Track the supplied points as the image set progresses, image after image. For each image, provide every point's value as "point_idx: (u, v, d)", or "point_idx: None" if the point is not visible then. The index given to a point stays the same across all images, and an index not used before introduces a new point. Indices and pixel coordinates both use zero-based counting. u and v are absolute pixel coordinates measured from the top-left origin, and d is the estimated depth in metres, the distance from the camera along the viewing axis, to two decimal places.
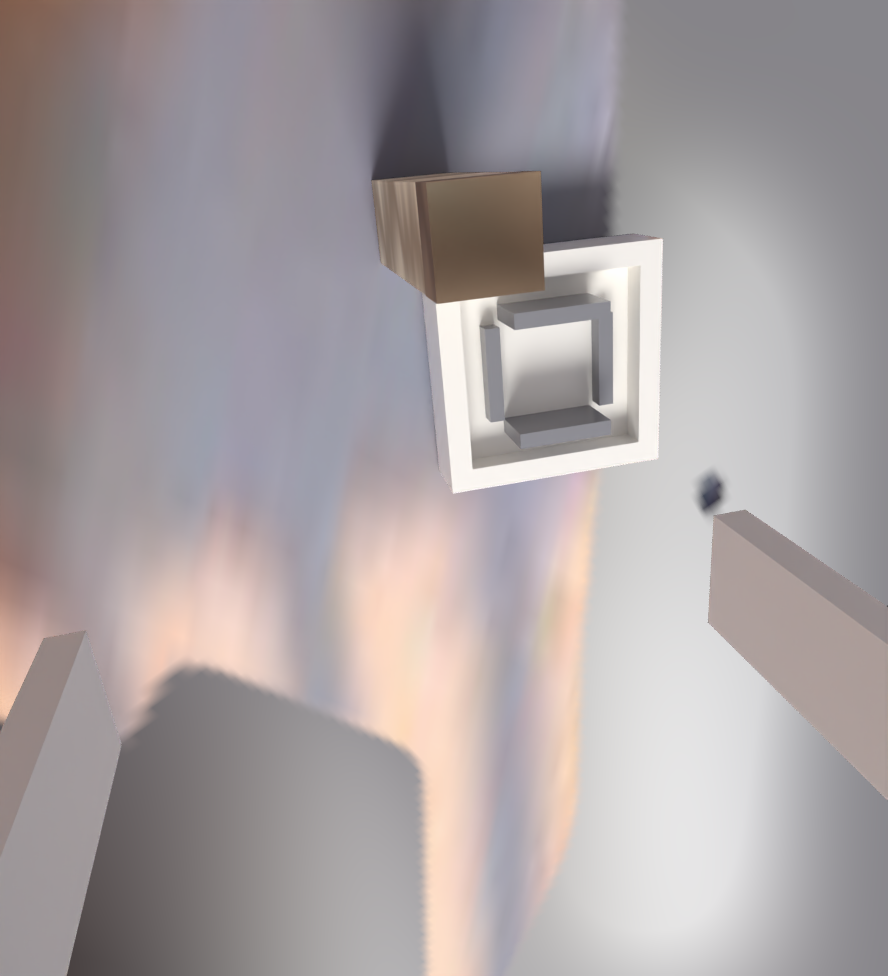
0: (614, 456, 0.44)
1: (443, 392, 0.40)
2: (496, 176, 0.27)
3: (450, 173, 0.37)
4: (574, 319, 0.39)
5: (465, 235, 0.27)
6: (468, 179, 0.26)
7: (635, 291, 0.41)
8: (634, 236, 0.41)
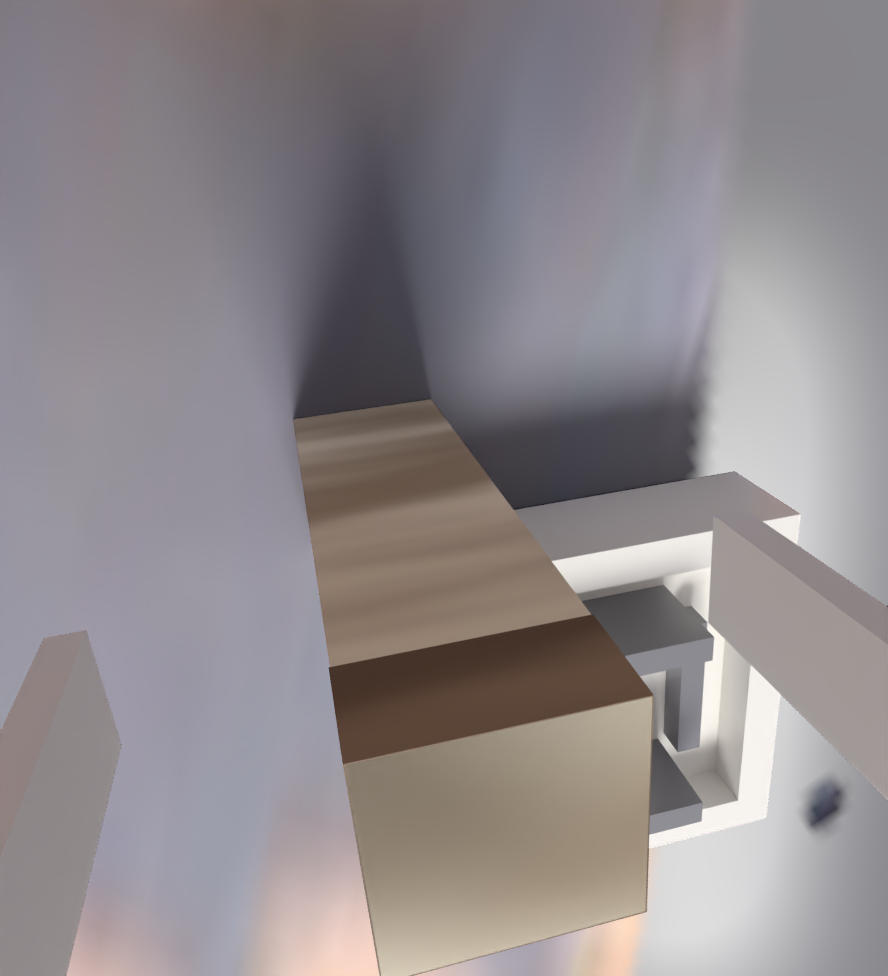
0: (698, 823, 0.27)
1: None
2: (536, 720, 0.10)
3: (431, 426, 0.20)
4: (650, 670, 0.22)
5: (453, 850, 0.10)
6: (461, 740, 0.10)
7: None
8: (742, 489, 0.25)
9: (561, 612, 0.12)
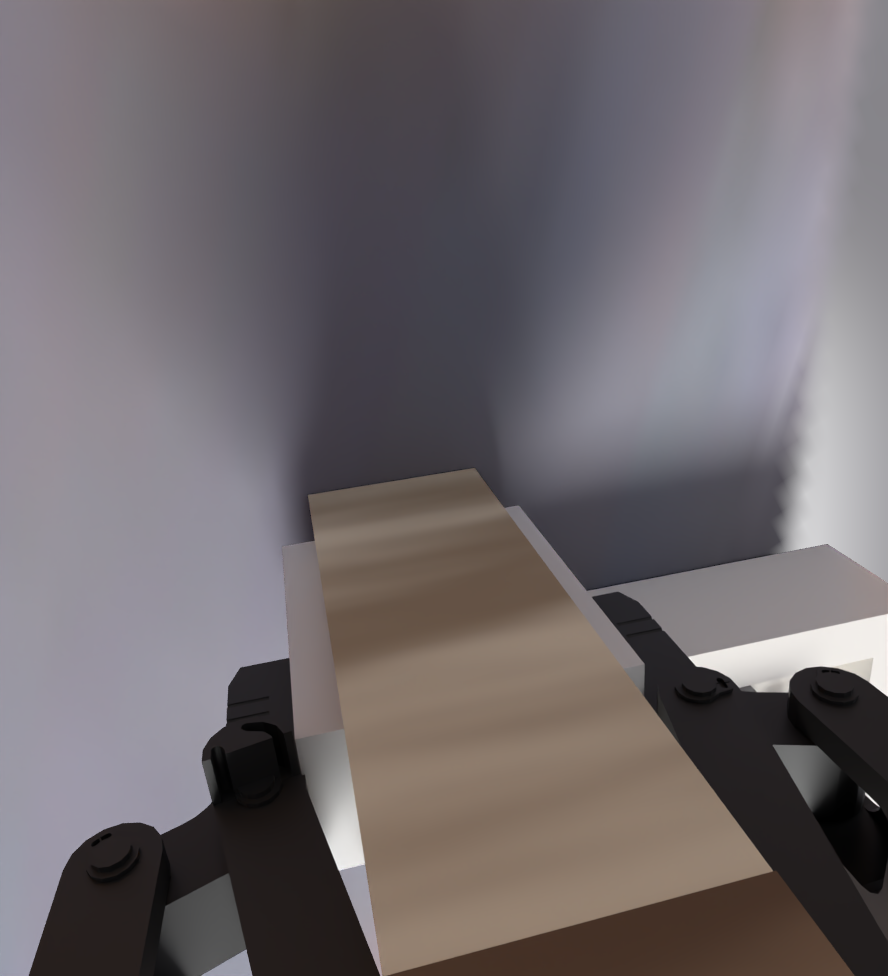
0: None
1: None
2: None
3: (480, 508, 0.17)
4: None
5: None
6: None
7: None
8: (843, 569, 0.21)
9: (725, 863, 0.08)
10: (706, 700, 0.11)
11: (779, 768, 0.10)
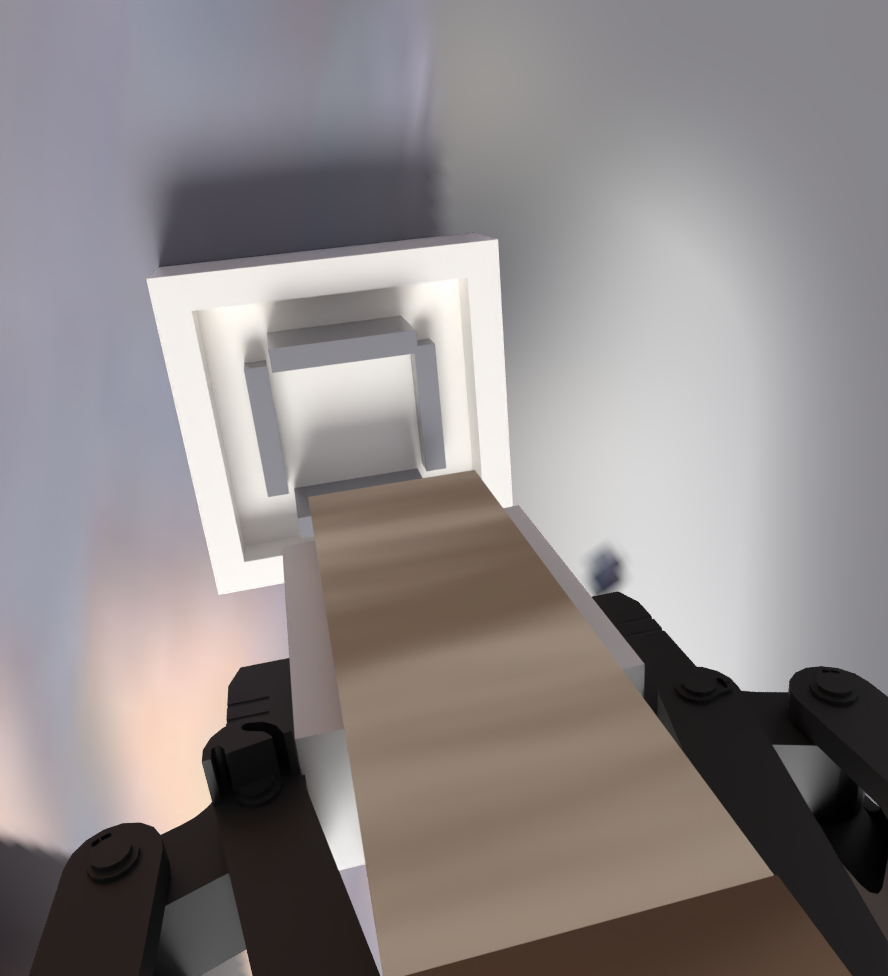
0: None
1: None
2: None
3: (480, 511, 0.17)
4: (362, 356, 0.27)
5: None
6: None
7: (466, 314, 0.29)
8: (468, 236, 0.29)
9: (726, 867, 0.08)
10: (706, 700, 0.11)
11: (779, 768, 0.10)
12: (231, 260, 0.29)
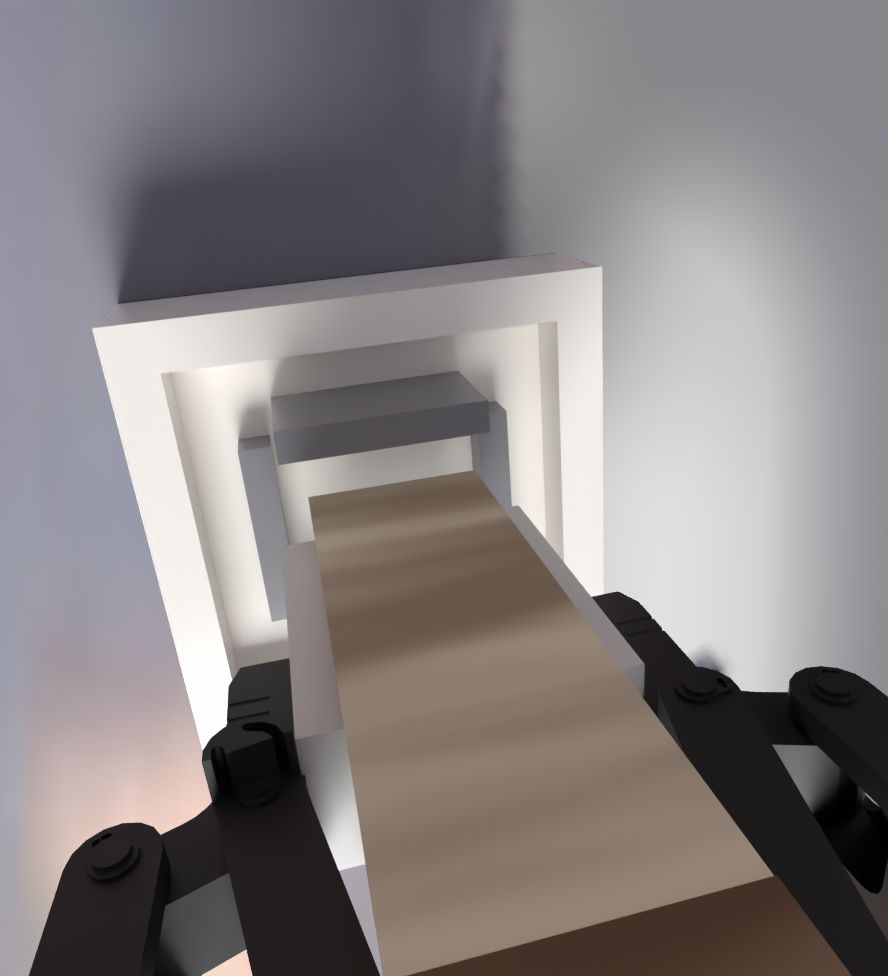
0: None
1: (158, 576, 0.20)
2: None
3: (480, 511, 0.17)
4: (411, 439, 0.18)
5: None
6: None
7: (551, 369, 0.21)
8: (551, 260, 0.21)
9: (726, 868, 0.08)
10: (706, 700, 0.11)
11: (779, 768, 0.10)
12: (220, 294, 0.20)
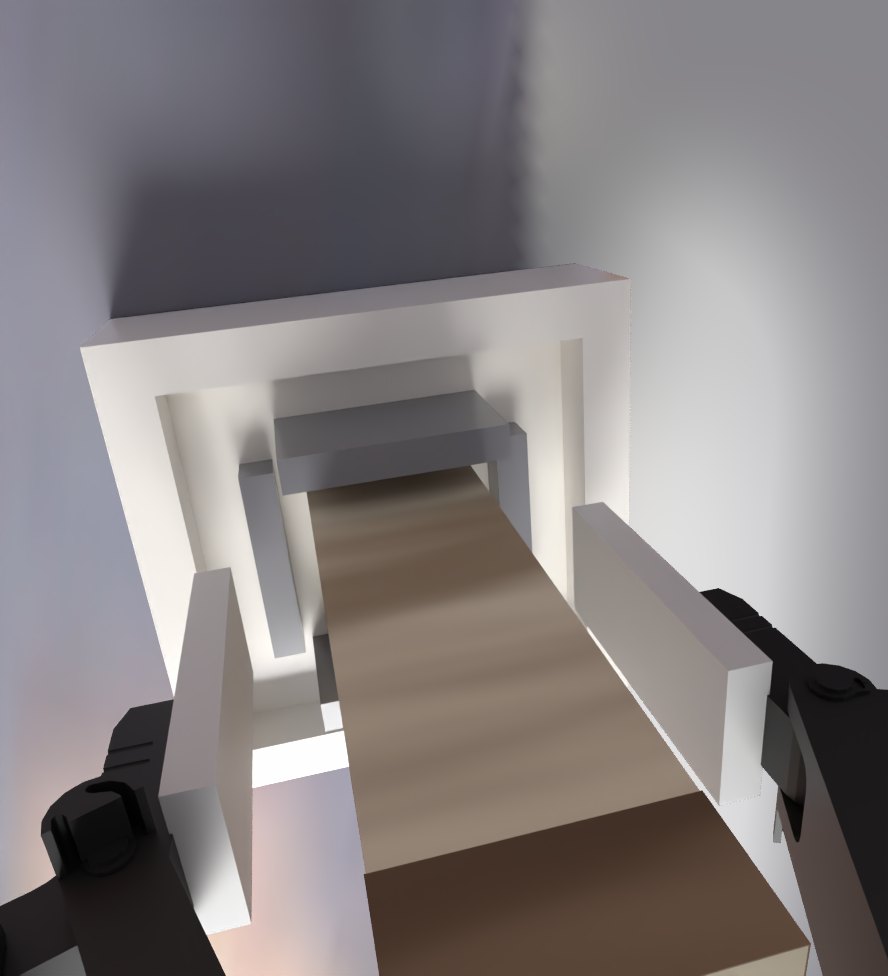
0: None
1: (153, 612, 0.18)
2: None
3: (464, 488, 0.18)
4: (426, 466, 0.17)
5: None
6: None
7: (574, 389, 0.19)
8: (574, 271, 0.20)
9: (659, 785, 0.09)
10: (840, 698, 0.11)
11: None
12: (219, 308, 0.19)
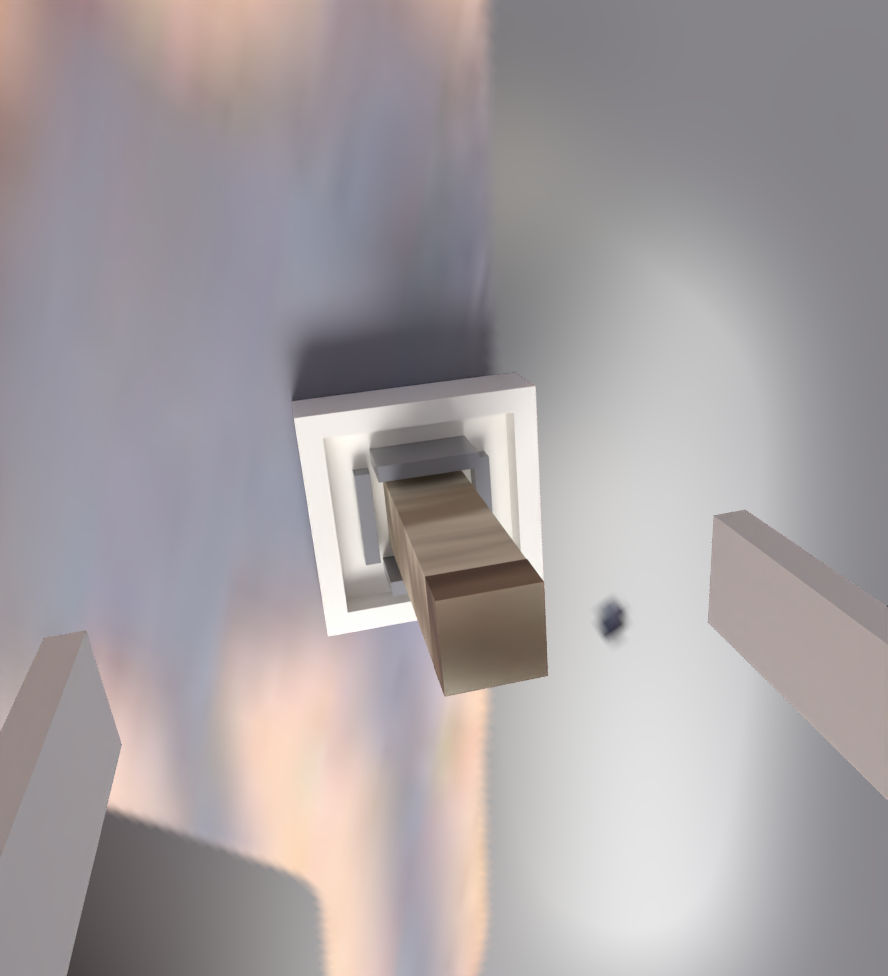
0: None
1: (313, 538, 0.39)
2: (502, 589, 0.28)
3: (458, 479, 0.39)
4: (441, 470, 0.38)
5: (472, 639, 0.28)
6: (475, 595, 0.28)
7: (511, 435, 0.40)
8: (512, 378, 0.41)
9: (514, 558, 0.30)
10: None
11: None
12: (344, 396, 0.40)
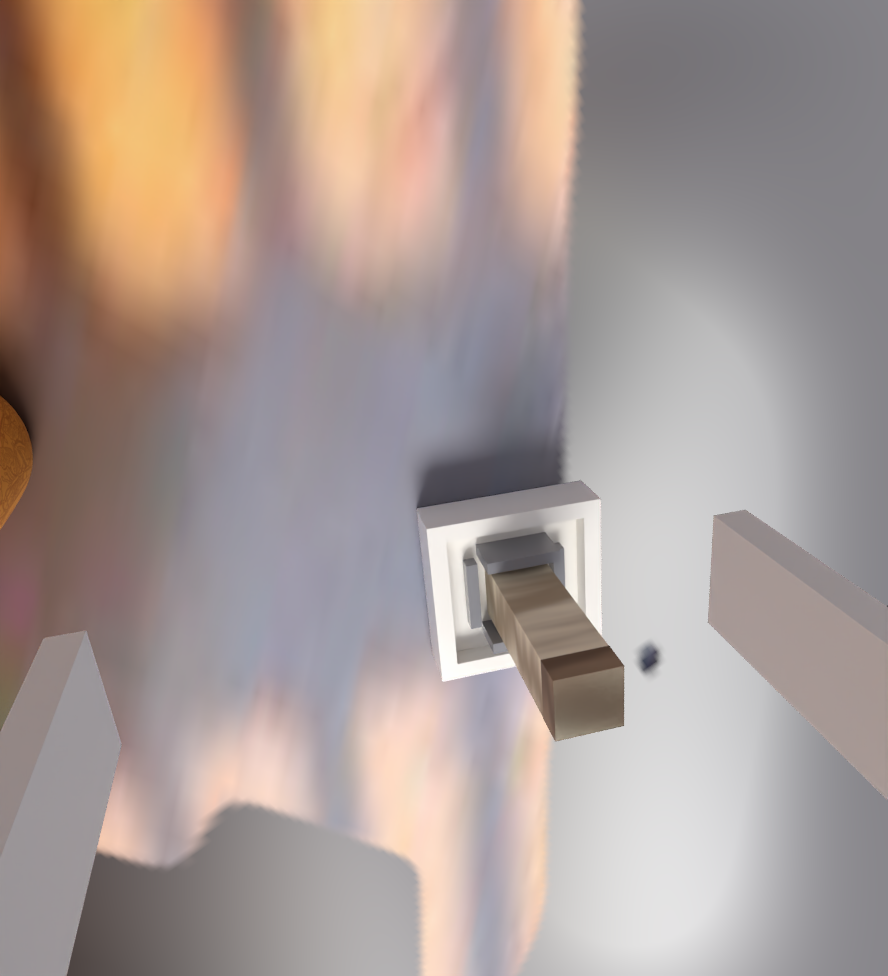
0: None
1: (435, 612, 0.53)
2: (596, 671, 0.42)
3: (543, 568, 0.52)
4: (533, 564, 0.51)
5: (575, 704, 0.42)
6: (579, 676, 0.42)
7: (581, 532, 0.54)
8: (581, 488, 0.54)
9: (600, 645, 0.44)
10: None
11: None
12: (455, 504, 0.54)
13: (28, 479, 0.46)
